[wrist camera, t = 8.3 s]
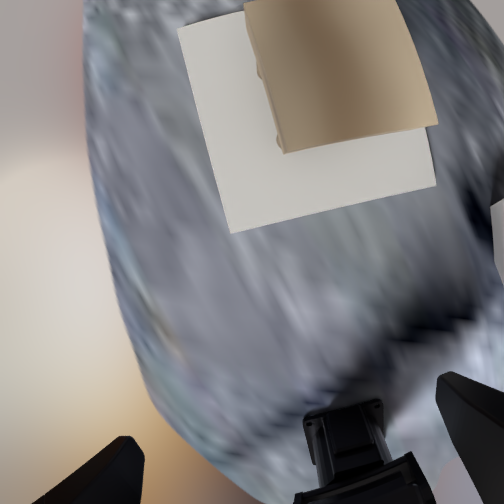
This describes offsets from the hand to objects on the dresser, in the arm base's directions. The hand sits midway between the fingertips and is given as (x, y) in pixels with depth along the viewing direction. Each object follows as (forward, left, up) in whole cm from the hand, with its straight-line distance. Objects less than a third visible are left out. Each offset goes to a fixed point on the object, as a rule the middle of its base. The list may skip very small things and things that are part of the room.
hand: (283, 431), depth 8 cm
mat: (+10, -5, -12) cm, 17 cm away
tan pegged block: (+10, -5, -12) cm, 16 cm away
